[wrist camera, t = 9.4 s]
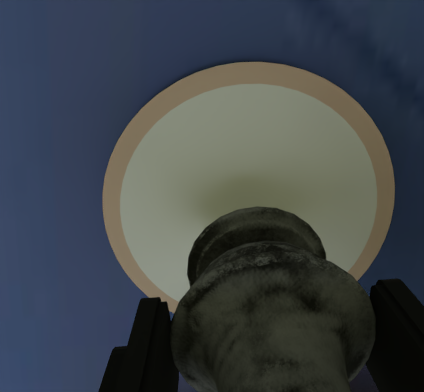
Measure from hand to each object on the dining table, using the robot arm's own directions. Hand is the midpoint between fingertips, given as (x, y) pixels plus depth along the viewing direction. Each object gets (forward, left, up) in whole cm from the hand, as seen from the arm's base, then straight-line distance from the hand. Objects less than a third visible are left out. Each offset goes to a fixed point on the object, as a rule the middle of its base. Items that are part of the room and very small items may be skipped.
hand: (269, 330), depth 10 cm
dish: (0, 0, -10) cm, 10 cm away
